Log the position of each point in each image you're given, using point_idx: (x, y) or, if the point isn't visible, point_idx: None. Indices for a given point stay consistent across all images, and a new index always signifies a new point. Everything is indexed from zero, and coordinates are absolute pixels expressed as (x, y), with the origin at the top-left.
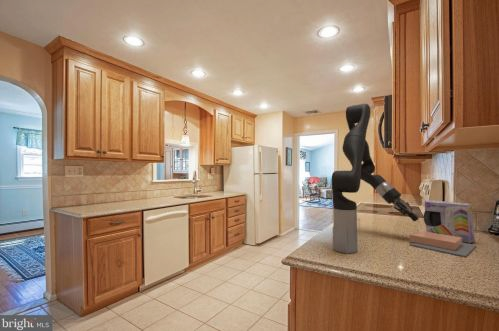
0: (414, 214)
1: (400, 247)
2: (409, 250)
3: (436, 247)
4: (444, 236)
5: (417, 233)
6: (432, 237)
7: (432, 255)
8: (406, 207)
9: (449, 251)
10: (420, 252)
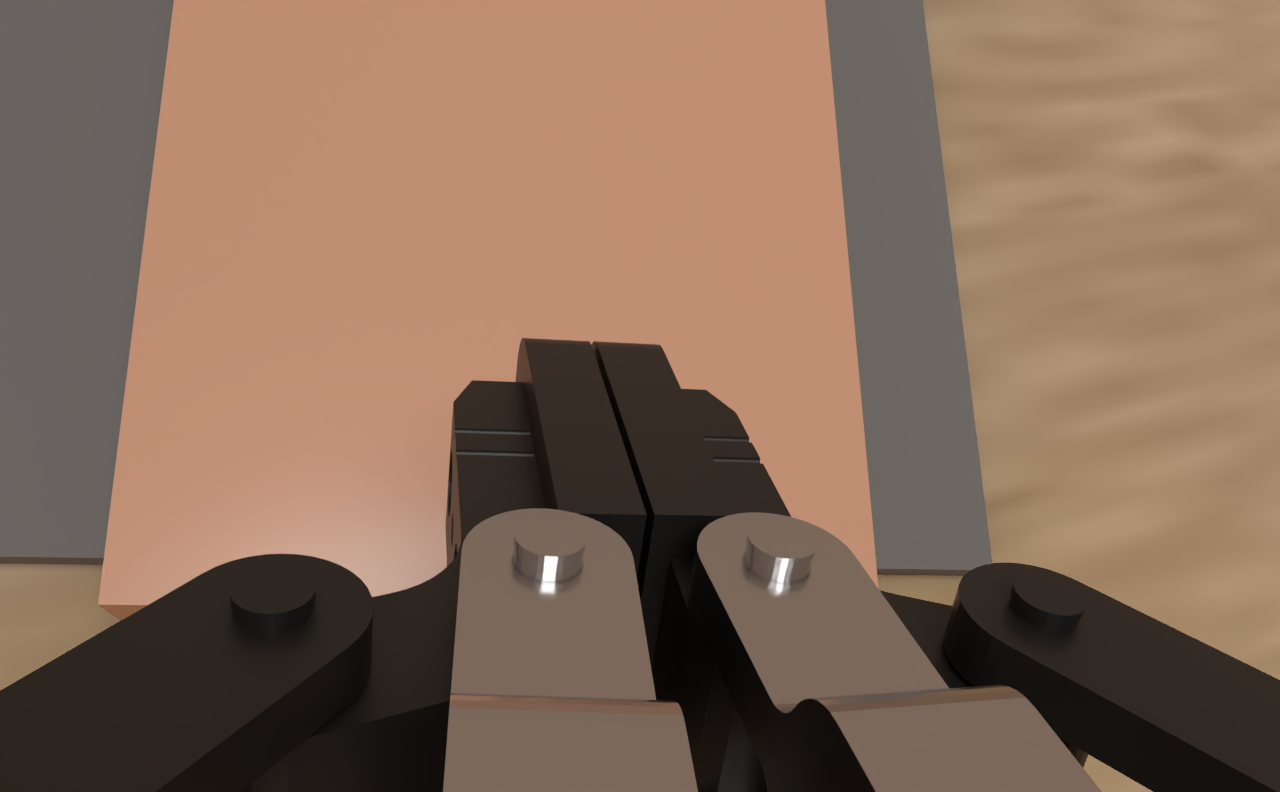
0: (591, 433)
1: (1232, 652)
2: (1254, 481)
3: None
4: (400, 1)
5: None
6: (723, 168)
7: (1183, 179)
8: (1021, 728)
9: (861, 7)
10: (1199, 330)
